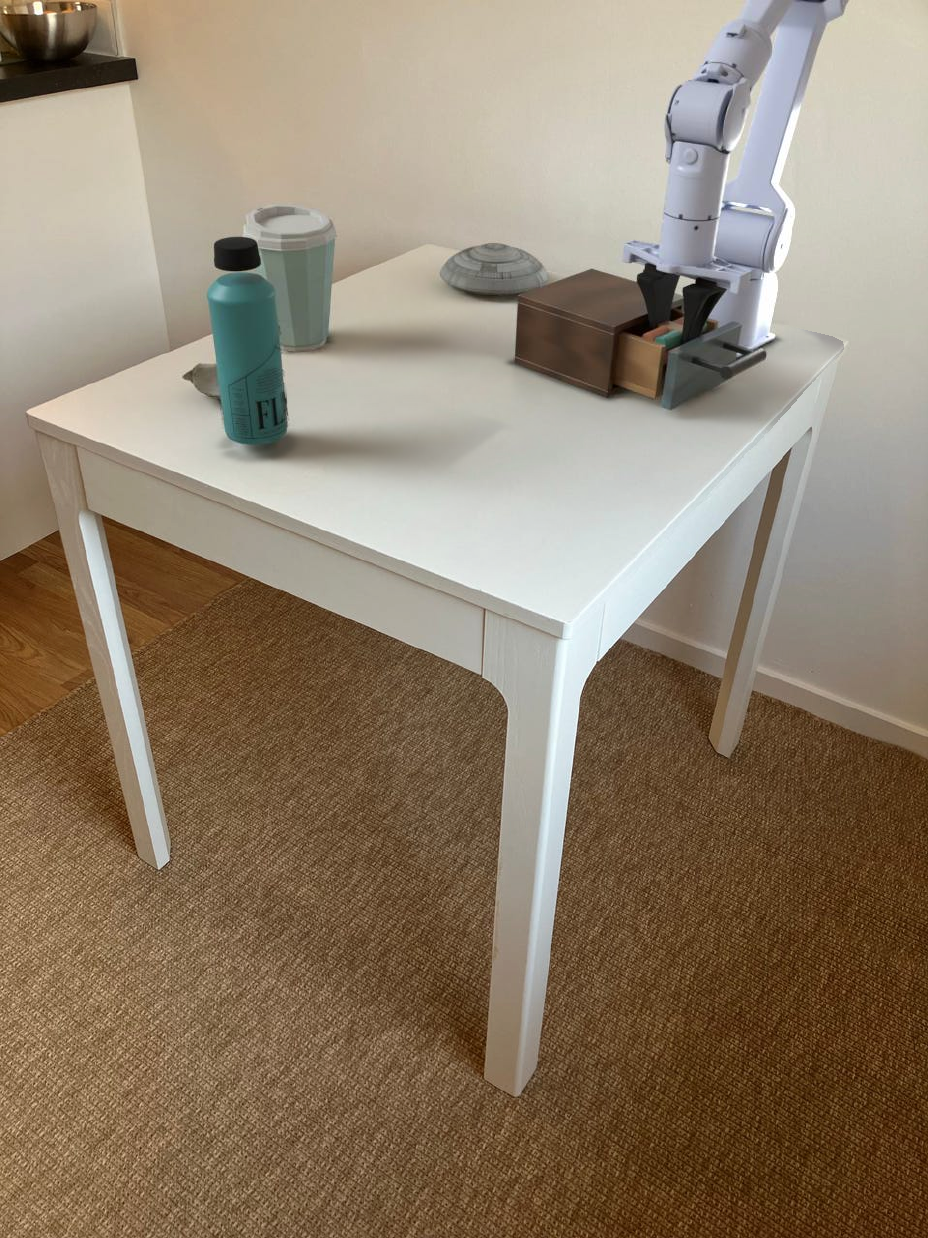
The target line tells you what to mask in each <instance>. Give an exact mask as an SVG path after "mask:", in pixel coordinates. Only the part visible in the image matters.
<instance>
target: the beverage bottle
mask: <svg viewBox="0 0 928 1238" xmlns="http://www.w3.org/2000/svg"><path fill="white" fill-rule="evenodd" d="M213 255H214V256H213V264H214V267H215V268H216V269H218V270H220V271H224V272H230V273H226V274H223V275H220V276H219V277H218V278H217V279H215V280H214V281H213V282H212V284H211V285H210V286H209V288H208V289H207V291H206V299H207V303H208V309H209V317H210V325H211V333H212V339H213V347H214V356H215V363H214V364H215V365H216V364H217V375H218V382H219V389H218V391H219V390H220V397H219V398H218V400H220V402H219V409H220V410H219V411H220V415H221V416H220V417H221V422H222V424H223V429H224V432H225V434H226V436H227V438H228V439H229V440H231V441H233V442H234V443H237V444H241V445H246V446H259V445H260V446H261V445H266V444H270V443H274V442H277V441H279V440H281V439H282V438H284V436H285V435H286V434H287V431H288V427H289V425H290V424H289V422H290V418H289V411H288V396H287V390H285V389H286V387H287V385H285V383H286V382H285V381H284V377H285V370H284V369H283V360H282V354H283V353H284V352H283V351H284V350H282V349H281V348H280V346H281V345H282V344H281V345H280V337H279V336H280V335H279V333H280V332H279V330H281V329H280V326H278V319H277V309H276V300H275V295H276V291H275V288H274V287H273V285H272V284H271V283H269V282H268V281H267V280H266V279H265V278H263V277H262V276H260V275H258V274H255V272H254V273H253V272H248V271H251V270H254V269H255V268H257V267H259V266H260V265H261V258H260V255H259V249H258V244H257V241H256V240H254V239H252V238H248V237H243V236H229V237H223V238H220V239H217V240H216V241H215V242H214V243H213ZM278 318H279V317H278ZM279 322H280V321H279ZM280 334H281V333H280ZM281 342H282V341H281ZM281 347H282V346H281ZM215 373H216V372H215ZM218 382H217V383H218ZM217 386H218V385H217ZM218 394H219V393H218ZM220 398H221V399H220Z"/></svg>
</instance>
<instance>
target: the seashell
mask: <svg viewBox="0 0 928 1238" xmlns="http://www.w3.org/2000/svg"><path fill="white" fill-rule="evenodd" d="M215 364H216V365H215ZM215 372H216V373H215ZM181 378H182V379H183V380H185V381H189V382H190V383H191V384H193V386H194V388H195V389H196V390H197V391H198V392H200V393H201V394H203V395H205V396H208V397H211V398H215V399H219V397H220V390H219V391H218V389H219V382H218V375H217V363H202V362H200V363H197V364H196V365H195V366H194V367H193V368H192V369H191V370H189V371H187V372H186V373H184V374H183V375H182V376H181ZM217 382H218V383H217ZM217 385H218V386H217ZM218 393H219V394H218ZM219 400H221V398H220V399H219Z"/></svg>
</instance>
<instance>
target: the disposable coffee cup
mask: <svg viewBox="0 0 928 1238" xmlns="http://www.w3.org/2000/svg"><path fill="white" fill-rule="evenodd" d="M245 217H246V223H245V224H243V226H242V227H243V231H242V232H243V233H242V237H248V238H252V239H254V240H256V241H257V244H258V249H259V255H260V258H261V265H260V266H259V267H257V268H255V269H253V270H254V274H258V275H260V276H262V277H263V278H265V279H266V280H267V281H268V282H269V283H271V284H272V285H273V287H274V288H275V291H276V295H275V300H276V309H277V319H278V326H280V329H281V330H279V332H280V333H281V334H280V333H279V335H280V336H279V337H280V345H281V344H282V345H281V346H282V347H281V346H280V348H281V350H282V351H288V352H295V353H297V352H299V353H301V352H310V351H314V350H316V349H319V348H321V347H323V345H324V344H325V343H327V338H328V337H329V332H330V331H329V330H330V329H329V328H330V315H331V302H332V288H333V287H332V286H333V272H334V259H335V246H336V238H337V237H338V235H337V231H336V228H335V227H336V226H335V225H334V222H333V220H332V219H330V218H329V215H328V214H326V213H324V212H323V211H321V210H318V209H316V208H313V207H308V206H304V205H299V204H289V203H288V204H287V203H286V204H284V203H273V204H269V205H265V206H261V207H257V208H255V209H253V210H251V211H250V212H248V213H247V214H245ZM278 317H279V318H278ZM279 321H280V322H279ZM281 341H282V342H281Z"/></svg>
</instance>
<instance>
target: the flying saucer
mask: <svg viewBox="0 0 928 1238" xmlns="http://www.w3.org/2000/svg"><path fill="white" fill-rule="evenodd" d="M439 276H440V278H441V279H442V281H444V282H445V283H446V284H448V285H449V286H451V287H453V288H456V289H458V290H461V291H464V292H468V293H472V294H473V293H474V294H478V295H489V296H504V295H505V296H508V295H517V294H522V293H525V292H528V291H531V290H533V289H536V288H539V287H542V286H544V285H545V283H546V282H547V281H548V280H549V273H548V271H547V269H546V267H545V266H544V265H543V263H542V262H541V261H540V260H539V259H538V258H537V257H535V256H534V255H533V254H531V253H529V252H527V251H526V250H523V249H521V248H518V247H515V246H510V245H508V244H505V243H500V242H488V243H483V244H480V245H474V246H471V247H467V248H464V249H462V250H461V251H458V252H456V253H455V254H453V255H452V256H450V257H449V258H448V259H447V260H446V262H445V263H444V264H443V265H442V266H441V268H440V270H439Z"/></svg>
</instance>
